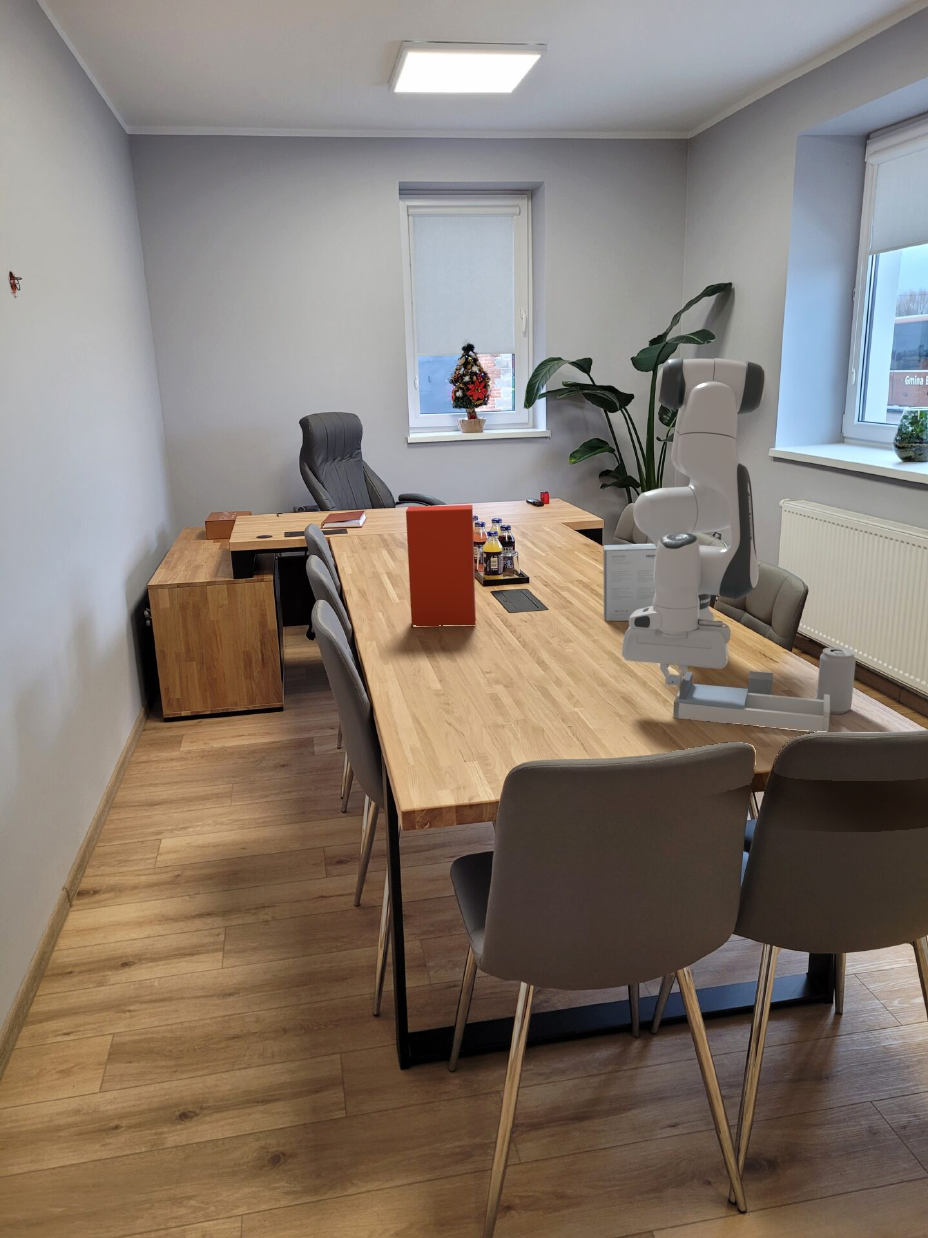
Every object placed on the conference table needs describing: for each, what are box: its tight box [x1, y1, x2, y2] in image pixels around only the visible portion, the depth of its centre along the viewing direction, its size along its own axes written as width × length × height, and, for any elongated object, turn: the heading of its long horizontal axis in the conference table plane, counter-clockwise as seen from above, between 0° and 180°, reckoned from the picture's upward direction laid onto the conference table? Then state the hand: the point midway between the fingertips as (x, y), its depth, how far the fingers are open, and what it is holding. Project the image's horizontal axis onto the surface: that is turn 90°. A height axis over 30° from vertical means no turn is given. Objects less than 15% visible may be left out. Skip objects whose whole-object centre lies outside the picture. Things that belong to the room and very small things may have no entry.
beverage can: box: [816, 647, 857, 715], centre depth 172 cm, size 6×6×12 cm
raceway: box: [672, 691, 831, 733], centre depth 171 cm, size 10×28×4 cm, turn 68°
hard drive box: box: [602, 543, 657, 622], centre depth 240 cm, size 16×8×20 cm, turn 84°
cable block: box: [747, 670, 774, 695], centre depth 180 cm, size 4×4×5 cm
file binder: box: [405, 504, 477, 626], centre depth 239 cm, size 8×17×32 cm, turn 88°
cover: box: [678, 671, 748, 709], centre depth 173 cm, size 10×12×3 cm
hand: (673, 684), depth 175 cm, fingers closed
